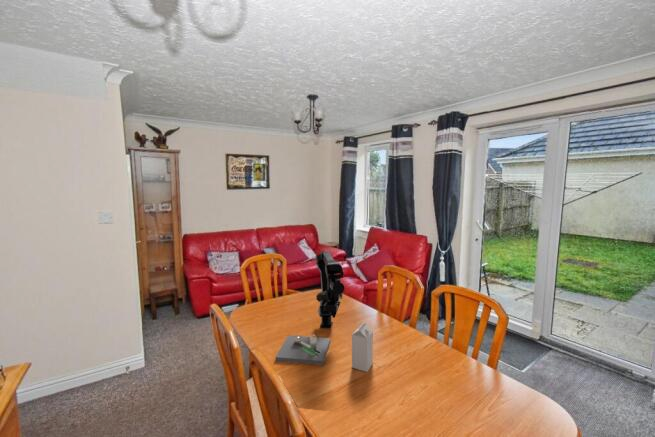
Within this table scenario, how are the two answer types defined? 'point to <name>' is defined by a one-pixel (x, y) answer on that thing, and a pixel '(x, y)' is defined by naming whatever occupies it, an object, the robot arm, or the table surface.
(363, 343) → the milk carton
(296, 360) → the board
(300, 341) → the lever
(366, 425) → the table surface
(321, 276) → the robot arm
